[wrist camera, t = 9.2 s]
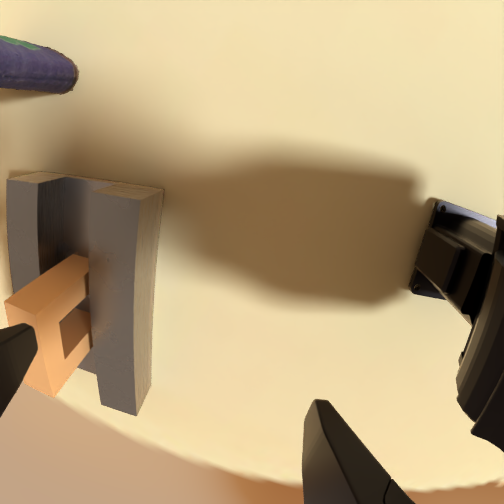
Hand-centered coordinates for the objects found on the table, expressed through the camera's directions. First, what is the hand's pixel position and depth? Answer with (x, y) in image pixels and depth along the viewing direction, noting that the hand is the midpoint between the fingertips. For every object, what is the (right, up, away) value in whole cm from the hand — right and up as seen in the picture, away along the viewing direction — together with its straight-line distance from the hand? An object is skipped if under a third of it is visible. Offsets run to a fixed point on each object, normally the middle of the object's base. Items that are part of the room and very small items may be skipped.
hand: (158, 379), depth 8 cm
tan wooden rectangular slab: (-9, 0, +12) cm, 15 cm away
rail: (-9, +1, +13) cm, 16 cm away
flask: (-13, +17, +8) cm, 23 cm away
